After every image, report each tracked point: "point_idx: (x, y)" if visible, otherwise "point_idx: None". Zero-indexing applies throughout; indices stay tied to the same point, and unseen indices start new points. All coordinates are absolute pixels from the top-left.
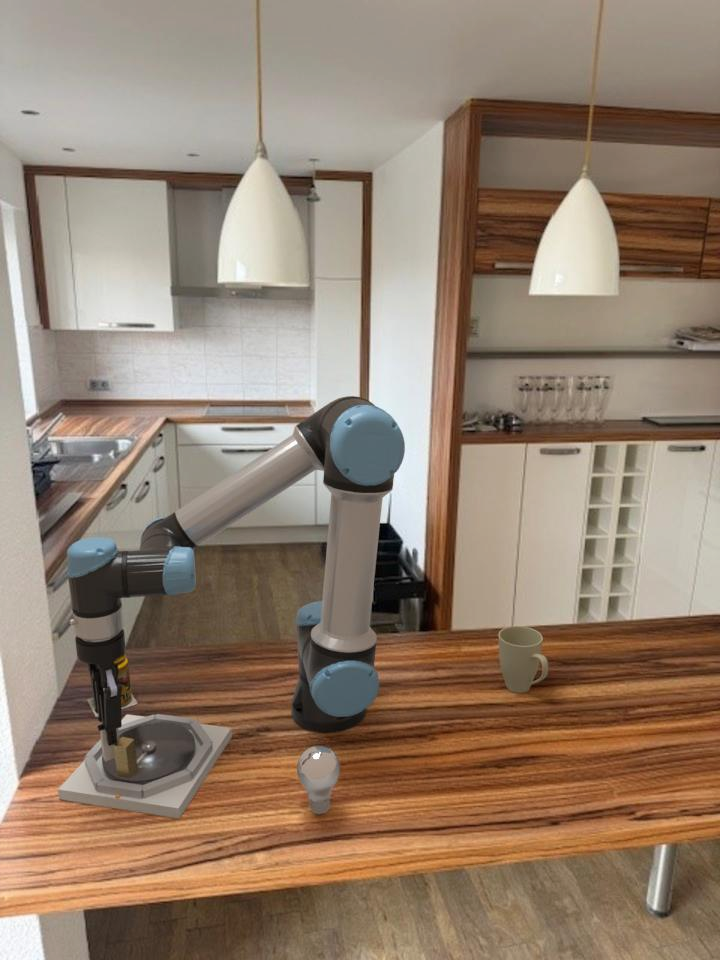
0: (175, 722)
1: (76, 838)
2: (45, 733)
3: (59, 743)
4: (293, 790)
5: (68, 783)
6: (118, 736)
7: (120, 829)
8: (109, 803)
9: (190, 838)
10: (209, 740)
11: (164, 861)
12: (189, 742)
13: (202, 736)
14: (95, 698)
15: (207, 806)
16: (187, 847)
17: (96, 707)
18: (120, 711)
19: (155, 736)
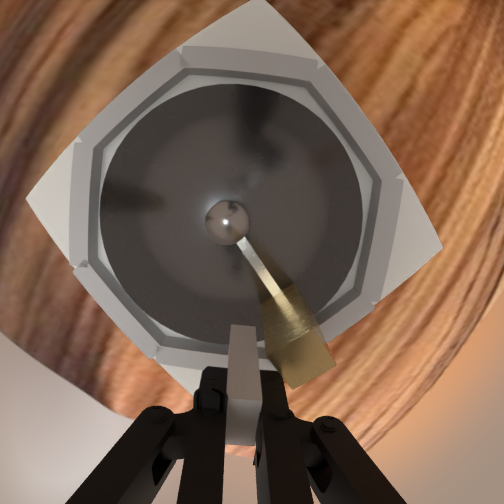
0: (146, 100)
1: (335, 398)
2: (11, 338)
3: (43, 335)
4: (479, 49)
5: None
6: (258, 367)
7: (374, 339)
8: None
9: (473, 248)
10: (309, 63)
11: (476, 302)
12: (278, 109)
13: (276, 67)
14: (152, 499)
15: (438, 180)
16: (481, 262)
17: (169, 471)
18: (390, 486)
19: (177, 178)
